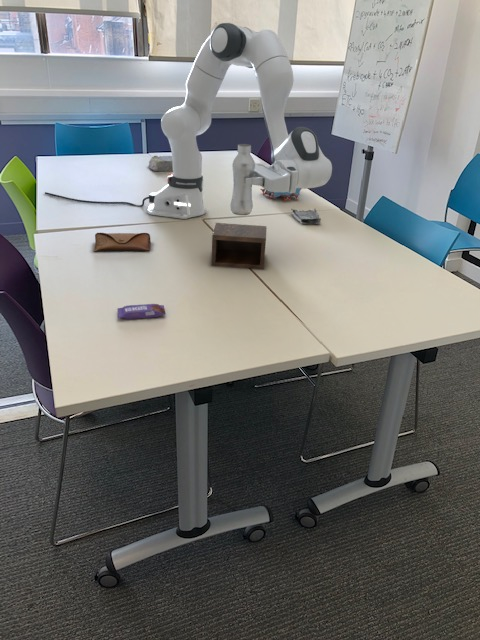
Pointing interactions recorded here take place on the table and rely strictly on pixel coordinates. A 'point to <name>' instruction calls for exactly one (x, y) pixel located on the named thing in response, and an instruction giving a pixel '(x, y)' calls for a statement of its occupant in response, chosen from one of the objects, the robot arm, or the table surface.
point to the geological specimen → (161, 163)
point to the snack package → (141, 311)
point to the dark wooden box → (238, 245)
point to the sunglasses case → (122, 242)
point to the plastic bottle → (242, 181)
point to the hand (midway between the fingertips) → (240, 177)
